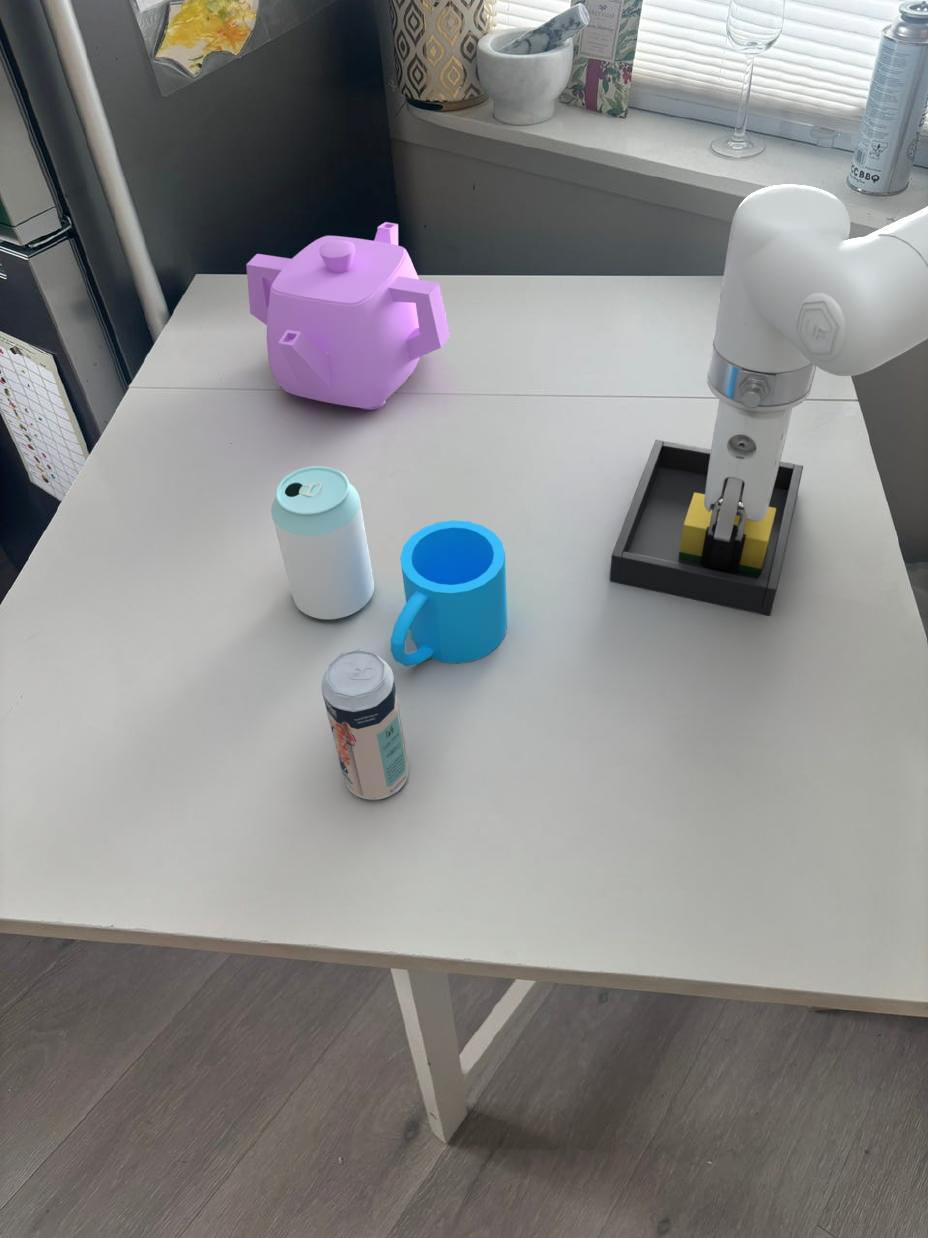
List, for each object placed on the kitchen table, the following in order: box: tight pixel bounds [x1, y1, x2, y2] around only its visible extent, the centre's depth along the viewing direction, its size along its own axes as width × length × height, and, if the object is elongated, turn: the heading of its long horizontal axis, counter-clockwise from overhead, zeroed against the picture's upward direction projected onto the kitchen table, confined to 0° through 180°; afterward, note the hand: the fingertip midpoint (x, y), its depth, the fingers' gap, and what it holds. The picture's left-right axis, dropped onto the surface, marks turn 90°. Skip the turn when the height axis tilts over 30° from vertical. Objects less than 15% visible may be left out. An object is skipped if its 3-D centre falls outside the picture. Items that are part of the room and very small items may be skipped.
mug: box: [390, 519, 508, 667], centre depth 79 cm, size 12×8×8 cm
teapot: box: [245, 221, 451, 411], centre depth 103 cm, size 19×18×15 cm
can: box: [271, 465, 375, 620], centre depth 82 cm, size 7×7×12 cm
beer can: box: [320, 648, 409, 801], centre depth 69 cm, size 5×5×12 cm
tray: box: [609, 439, 804, 617], centre depth 88 cm, size 14×17×3 cm
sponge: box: [679, 493, 776, 576], centre depth 85 cm, size 7×4×4 cm, turn 69°
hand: (725, 545), depth 86 cm, fingers closed on sponge, 4 cm apart
